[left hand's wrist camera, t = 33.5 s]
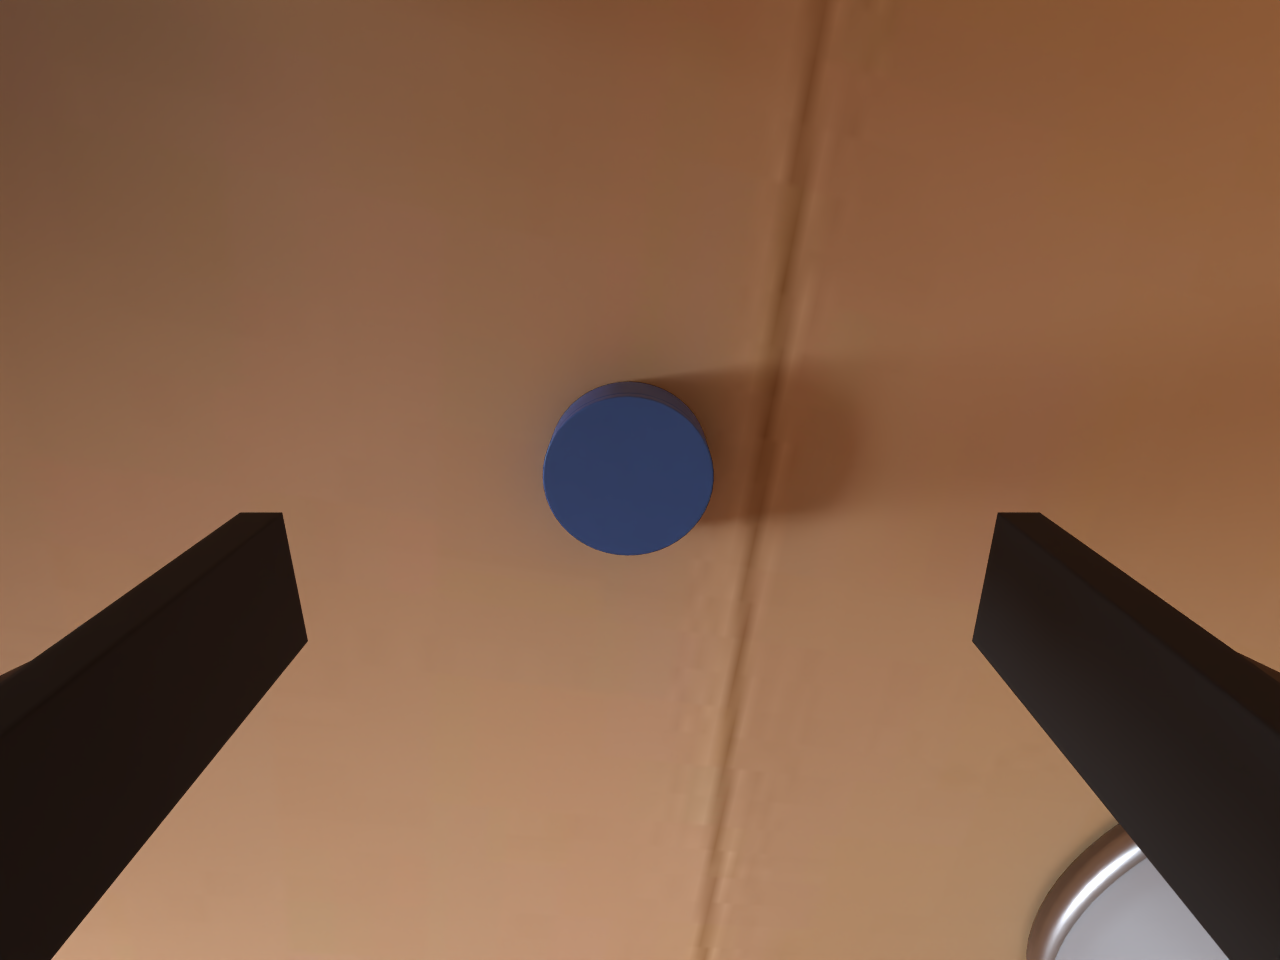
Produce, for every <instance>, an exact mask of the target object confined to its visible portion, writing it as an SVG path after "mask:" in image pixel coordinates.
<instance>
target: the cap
mask: <svg viewBox="0 0 1280 960" xmlns="http://www.w3.org/2000/svg"><path fill="white" fill-rule="evenodd" d="M713 481H714V471H713V463H712V458H711V455H710V451H709V448H708V445H707V442H706V439H705V436H704V432H703V430H702V428H701V426H700V423H699V422H698V420H697V418H696V417H695V415H694V414H693V413H692V411H691V410H690V409H689V408H688V407H687V406H686V405H685V404H684V403H683V402H682V401H681V400H680V399H678V398H677V397H675V396H674V395H673V394H671V393H669V392H667V391H665V390H663V389H661V388H659V387H656V386H653V385H649V384H645V383H639V382H618V383H612V384H607V385H604V386H601V387H598V388H596V389H594V390H592V391H589V392H588V393H586V394H585V395H583V396H581V397H580V398H579V399H577V400H576V401H575V402H574V403H573V404H572V405H571V406H570V407H569V408H568V409H567V410H566V411H565V413H564V414H563V416H562V417H561V419H560V420H559V422H558V424H557V426H556V428H555V430H554V433H553V436H552V438H551V441H550V444H549V446H548V449H547V453H546V456H545V460H544V466H543V485H544V491H545V495H546V499H547V501H548V504H549V506H550V508H551V510H552V512H553V514H554V515H555V517H556V519H557V520H558V521H559V523H560V524H561V525H562V526H563V527H564V528H565V529H566V530H567V531H568V532H569V533H570V534H571V535H572V536H574V537H575V538H576V539H577V540H579V541H581V542H582V543H584V544H586V545H587V546H590V547H592V548H594V549H596V550H600V551H603V552H606V553H611V554H616V555H640V554H646V553H651V552H654V551H658V550H660V549H663V548H665V547H667V546H669V545H671V544H673V543H675V542H676V541H678V540H679V539H681V538H682V537H683V536H685V535H686V534H687V533H688V532H689V531H690V530H691V529H692V528H693V527H694V526H695V525H696V523H697V522H698V521H699V520H700V518H701V517H702V515H703V513H704V512H705V510H706V508H707V505H708V503H709V500H710V497H711V493H712V488H713Z"/></svg>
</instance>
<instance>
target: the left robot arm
mask: <svg viewBox="0 0 1280 960" xmlns="http://www.w3.org/2000/svg"><path fill="white" fill-rule="evenodd" d="M307 641H308V639H307V634H306V629H305V624H304V619H303V614H302V609H301V604H300V599H299V594H298V589H297V584H296V579H295V574H294V569H293V564H292V559H291V554H290V549H289V544H288V539H287V534H286V529H285V524H284V519H283V514H282V513H239V514H238V515H236V516H235V517H233V518H232V519H231V520H229V521H228V522H226V523H225V524H224V525H222V526H221V527H219V528H218V529H216V530H215V531H214V532H212V533H211V534H209V535H208V536H207V537H205V538H204V539H202V540H201V541H200V542H198V543H197V544H195V545H194V546H192V547H191V548H190V549H188V550H187V551H185V552H184V553H183V554H181V555H180V556H178V557H177V558H176V559H174V560H173V561H171V562H170V563H169V564H167V565H166V566H164V567H163V568H161V569H160V570H159V571H157V572H156V573H154V574H153V575H152V576H150V577H149V578H147V579H146V580H145V581H143V582H142V583H140V584H139V585H137V586H136V587H135V588H133V589H132V590H130V591H129V592H128V593H126V594H125V595H123V596H122V597H121V598H119V599H118V600H116V601H115V602H114V603H112V604H111V605H109V606H108V607H106V608H105V609H104V610H102V611H101V612H99V613H98V614H97V615H95V616H94V617H92V618H91V619H90V620H88V621H87V622H85V623H84V624H82V625H81V626H80V627H78V628H77V629H75V630H74V631H73V632H71V633H70V634H68V635H67V636H66V637H64V638H63V639H61V640H60V641H58V642H57V643H56V644H54V645H53V646H51V647H50V648H49V649H47V650H46V651H44V652H43V653H42V654H40V655H39V656H37V657H36V658H35V659H33V660H32V661H30V662H28V663H26V664H23V665H21V666H19V667H17V668H15V669H13V670H11V671H9V672H7V673H5V674H3V675H1V676H0V960H51V959H52V958H53V956H54V955H55V954H56V953H57V951H58V950H59V949H60V948H61V946H62V945H63V944H64V943H65V941H66V940H67V939H68V938H69V937H70V935H71V934H72V933H73V932H74V930H75V929H76V928H77V927H78V925H79V924H80V923H81V922H82V920H83V919H84V918H85V917H86V915H87V914H88V913H89V912H90V911H91V909H92V908H93V907H94V906H95V904H96V903H97V902H98V901H99V899H100V898H101V897H102V896H103V894H104V893H105V892H106V891H107V889H108V888H109V887H110V886H111V884H112V883H113V882H114V881H115V880H116V878H117V877H118V876H119V875H120V873H121V872H122V871H123V870H124V868H125V867H126V866H127V865H128V863H129V862H130V861H131V860H132V858H133V857H134V856H135V855H136V853H137V852H138V851H139V850H140V849H141V847H142V846H143V845H144V844H145V842H146V841H147V840H148V839H149V837H150V836H151V835H152V834H153V832H154V831H155V830H156V829H157V827H158V826H159V825H160V824H161V822H162V821H163V820H164V819H165V818H166V816H167V815H168V814H169V813H170V811H171V810H172V809H173V808H174V806H175V805H176V804H177V803H178V801H179V800H180V799H181V798H182V796H183V795H184V794H185V793H186V791H187V790H188V789H189V788H190V787H191V785H192V784H193V783H194V782H195V780H196V779H197V778H198V777H199V775H200V774H201V773H202V772H203V770H204V769H205V768H206V767H207V765H208V764H209V763H210V762H211V760H212V759H213V758H214V757H215V756H216V754H217V753H218V752H219V751H220V749H221V748H222V747H223V746H224V744H225V743H226V742H227V741H228V739H229V738H230V737H231V736H232V734H233V733H234V732H235V731H236V729H237V728H238V727H239V726H240V725H241V723H242V722H243V721H244V720H245V718H246V717H247V716H248V715H249V713H250V712H251V711H252V710H253V708H254V707H255V706H256V705H257V703H258V702H259V701H260V700H261V699H262V697H263V696H264V695H265V694H266V692H267V691H268V690H269V689H270V687H271V686H272V685H273V684H274V682H275V681H276V680H277V679H278V677H279V676H280V675H281V674H282V672H283V671H284V670H285V669H286V668H287V666H288V665H289V664H290V663H291V661H292V660H293V659H294V658H295V656H296V655H297V654H298V653H299V651H300V650H301V649H302V648H303V646H304V645H305V644H306V643H307ZM972 641H973V643H974V644H975V645H976V646H977V648H978V649H979V650H980V651H981V653H982V654H983V655H984V656H985V658H986V659H987V660H988V661H989V663H990V664H991V665H992V666H993V668H994V669H995V670H996V671H997V672H998V674H999V675H1000V676H1001V677H1002V679H1003V680H1004V681H1005V682H1006V684H1007V685H1008V686H1009V687H1010V689H1011V690H1012V691H1013V692H1014V694H1015V695H1016V696H1017V697H1018V699H1019V700H1020V701H1021V702H1022V703H1023V705H1024V706H1025V707H1026V708H1027V710H1028V711H1029V712H1030V713H1031V715H1032V716H1033V717H1034V718H1035V720H1036V721H1037V722H1038V723H1039V725H1040V726H1041V727H1042V728H1043V729H1044V731H1045V732H1046V733H1047V734H1048V736H1049V737H1050V738H1051V739H1052V741H1053V742H1054V743H1055V744H1056V746H1057V747H1058V748H1059V749H1060V751H1061V752H1062V753H1063V754H1064V756H1065V757H1066V758H1067V759H1068V760H1069V762H1070V763H1071V764H1072V765H1073V767H1074V768H1075V769H1076V770H1077V772H1078V773H1079V774H1080V775H1081V777H1082V778H1083V779H1084V780H1085V782H1086V783H1087V784H1088V785H1089V787H1090V788H1091V789H1092V790H1093V791H1094V793H1095V794H1096V795H1097V796H1098V798H1099V799H1100V800H1101V801H1102V803H1103V804H1104V805H1105V806H1106V808H1107V809H1108V810H1109V811H1110V813H1111V814H1112V815H1113V816H1114V818H1115V819H1116V820H1117V821H1118V822H1119V824H1118V825H1116V826H1115V827H1113V828H1112V829H1111V830H1109V831H1108V832H1107V833H1105V834H1104V835H1103V836H1101V837H1100V838H1099V839H1098V840H1097V841H1095V842H1094V843H1093V844H1092V845H1091V846H1089V847H1088V848H1087V849H1086V850H1085V851H1084V852H1083V853H1082V854H1081V855H1080V856H1079V857H1078V858H1077V859H1076V860H1075V861H1074V862H1073V863H1072V864H1071V865H1070V866H1069V867H1068V868H1067V869H1066V871H1065V872H1064V873H1063V874H1062V875H1061V876H1060V877H1059V879H1058V880H1057V881H1056V883H1055V884H1054V886H1053V887H1052V888H1051V890H1050V891H1049V893H1048V894H1047V896H1046V898H1045V899H1044V901H1043V903H1042V905H1041V906H1040V908H1039V910H1038V913H1037V915H1036V917H1035V920H1034V922H1033V925H1032V928H1031V932H1030V935H1029V939H1028V946H1027V960H1280V672H1277V671H1275V670H1273V669H1271V668H1269V667H1267V666H1265V665H1263V664H1261V663H1259V662H1256V661H1254V660H1252V659H1250V658H1248V657H1246V656H1244V655H1242V654H1240V653H1237V652H1236V651H1234V650H1233V649H1231V648H1230V647H1229V646H1227V645H1226V644H1224V643H1223V642H1222V641H1220V640H1219V639H1217V638H1216V637H1214V636H1213V635H1212V634H1210V633H1209V632H1207V631H1206V630H1205V629H1203V628H1202V627H1200V626H1199V625H1198V624H1196V623H1195V622H1193V621H1192V620H1190V619H1189V618H1188V617H1186V616H1185V615H1183V614H1182V613H1181V612H1179V611H1178V610H1176V609H1175V608H1174V607H1172V606H1171V605H1169V604H1168V603H1166V602H1165V601H1164V600H1162V599H1161V598H1159V597H1158V596H1157V595H1155V594H1154V593H1152V592H1151V591H1150V590H1148V589H1147V588H1145V587H1144V586H1143V585H1141V584H1140V583H1138V582H1137V581H1135V580H1134V579H1133V578H1131V577H1130V576H1128V575H1127V574H1126V573H1124V572H1123V571H1121V570H1120V569H1119V568H1117V567H1116V566H1114V565H1113V564H1111V563H1110V562H1109V561H1107V560H1106V559H1104V558H1103V557H1102V556H1100V555H1099V554H1097V553H1096V552H1095V551H1093V550H1092V549H1090V548H1089V547H1088V546H1086V545H1085V544H1083V543H1082V542H1080V541H1079V540H1078V539H1076V538H1075V537H1073V536H1072V535H1071V534H1069V533H1068V532H1066V531H1065V530H1064V529H1062V528H1061V527H1059V526H1058V525H1056V524H1055V523H1054V522H1052V521H1051V520H1049V519H1048V518H1047V517H1045V516H1044V515H1042V514H1041V513H998V514H997V519H996V524H995V529H994V534H993V539H992V544H991V549H990V554H989V559H988V564H987V569H986V574H985V579H984V584H983V589H982V594H981V599H980V604H979V609H978V614H977V619H976V624H975V629H974V634H973V639H972Z"/></svg>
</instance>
